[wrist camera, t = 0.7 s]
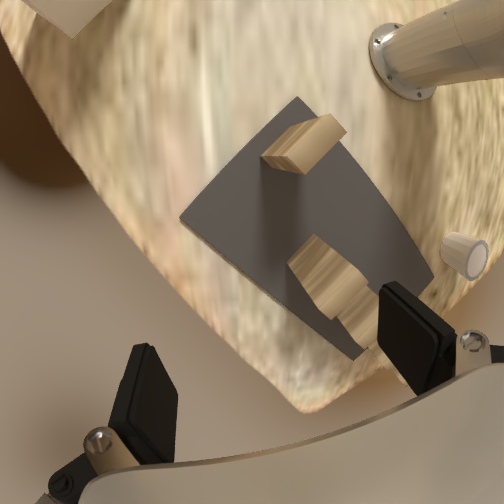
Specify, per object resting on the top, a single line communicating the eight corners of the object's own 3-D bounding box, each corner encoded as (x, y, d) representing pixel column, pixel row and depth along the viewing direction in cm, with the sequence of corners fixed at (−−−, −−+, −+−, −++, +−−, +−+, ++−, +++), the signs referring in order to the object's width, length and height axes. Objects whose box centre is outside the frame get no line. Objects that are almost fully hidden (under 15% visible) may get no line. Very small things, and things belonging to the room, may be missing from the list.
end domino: (259, 156, 31) (286, 156, 20) (289, 126, 31) (330, 113, 20) (272, 167, 32) (305, 174, 21) (301, 138, 31) (346, 132, 20)
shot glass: (446, 222, 39) (476, 234, 32) (466, 234, 40) (493, 247, 34) (432, 260, 41) (459, 276, 34) (452, 269, 42) (478, 284, 36)
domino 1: (285, 261, 36) (318, 309, 25) (313, 233, 35) (358, 269, 24) (296, 271, 37) (331, 320, 26) (323, 243, 36) (369, 282, 25)
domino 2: (317, 290, 38) (355, 341, 27) (343, 264, 38) (390, 307, 26) (326, 298, 39) (364, 349, 28) (351, 273, 38) (397, 316, 27)
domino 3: (343, 315, 40) (381, 365, 29) (367, 291, 40) (412, 335, 28) (350, 321, 41) (388, 370, 30) (373, 298, 40) (418, 342, 29)
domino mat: (296, 97, 30) (297, 96, 30) (432, 275, 42) (434, 277, 41) (179, 216, 33) (179, 217, 32) (351, 358, 45) (353, 360, 44)
